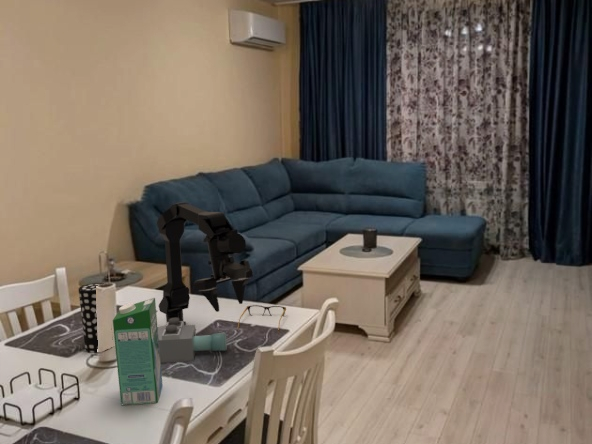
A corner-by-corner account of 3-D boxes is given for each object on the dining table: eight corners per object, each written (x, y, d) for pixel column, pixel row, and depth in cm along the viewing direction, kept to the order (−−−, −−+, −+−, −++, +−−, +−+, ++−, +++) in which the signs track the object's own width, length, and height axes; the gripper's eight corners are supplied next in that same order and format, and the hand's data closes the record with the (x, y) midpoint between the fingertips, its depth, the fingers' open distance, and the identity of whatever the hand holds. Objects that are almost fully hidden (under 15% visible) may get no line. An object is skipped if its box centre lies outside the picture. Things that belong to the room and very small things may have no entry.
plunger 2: (166, 329, 169) (166, 324, 168) (177, 328, 169) (177, 324, 169) (165, 333, 166) (164, 328, 165) (176, 333, 166) (175, 328, 165)
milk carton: (128, 388, 151) (119, 299, 146) (162, 386, 152) (155, 297, 147) (121, 405, 142) (111, 311, 137) (157, 402, 143) (149, 308, 138)
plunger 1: (169, 322, 175) (169, 317, 174) (180, 321, 175) (179, 317, 174) (168, 326, 171) (167, 321, 171) (178, 325, 172) (178, 320, 171)
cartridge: (158, 357, 169) (157, 340, 168) (161, 350, 174) (160, 334, 173) (225, 353, 170) (224, 336, 169) (226, 346, 175) (225, 330, 174)
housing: (158, 348, 177) (155, 322, 175) (196, 345, 178) (195, 320, 176) (151, 363, 166) (149, 336, 164) (193, 360, 167) (191, 333, 165)
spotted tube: (104, 353, 174) (97, 291, 170) (79, 352, 176) (72, 290, 172) (117, 343, 182) (111, 283, 178) (94, 341, 184) (88, 282, 180)
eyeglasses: (286, 316, 202) (286, 305, 201) (278, 332, 188) (278, 320, 187) (248, 315, 204) (247, 304, 204) (237, 330, 190) (236, 319, 190)
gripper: (212, 259, 154) (223, 315, 154) (260, 247, 168) (270, 299, 168) (188, 262, 162) (198, 315, 162) (236, 250, 175) (245, 300, 176)
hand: (229, 307), depth 167 cm, fingers open, 9 cm apart
